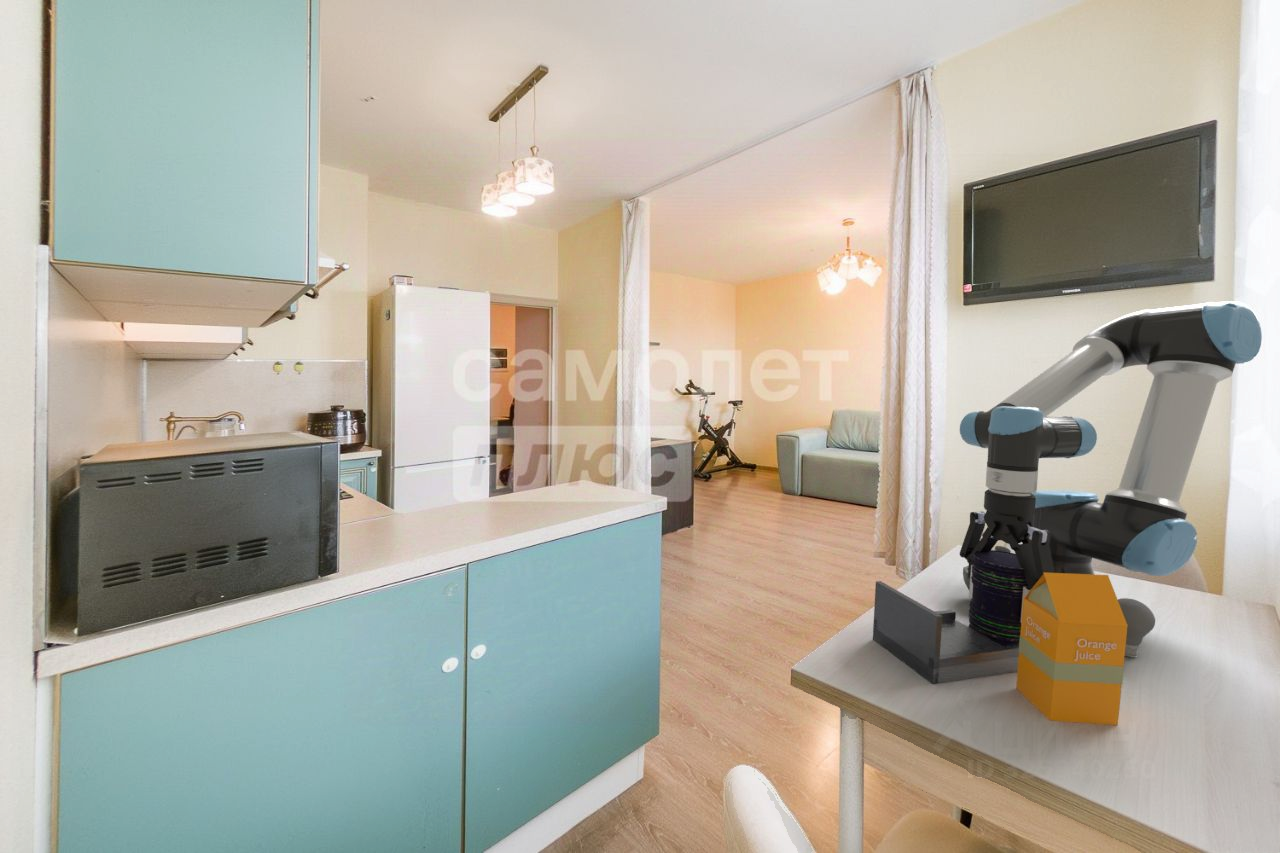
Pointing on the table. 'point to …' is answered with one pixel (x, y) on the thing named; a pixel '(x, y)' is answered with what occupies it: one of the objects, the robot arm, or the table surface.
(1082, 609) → the orange juice
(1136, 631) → the light bulb
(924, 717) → the table surface
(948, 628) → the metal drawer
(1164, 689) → the table surface
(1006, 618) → the dark navy cylinder
